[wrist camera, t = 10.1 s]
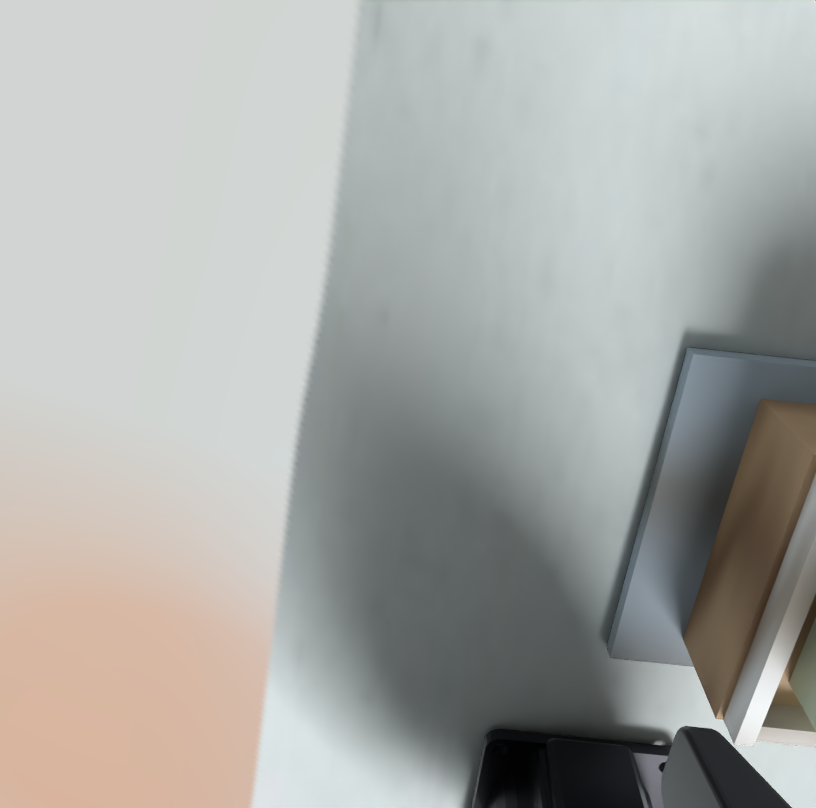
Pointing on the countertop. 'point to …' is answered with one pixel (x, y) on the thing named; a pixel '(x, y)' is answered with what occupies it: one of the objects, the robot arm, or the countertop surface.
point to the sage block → (806, 676)
